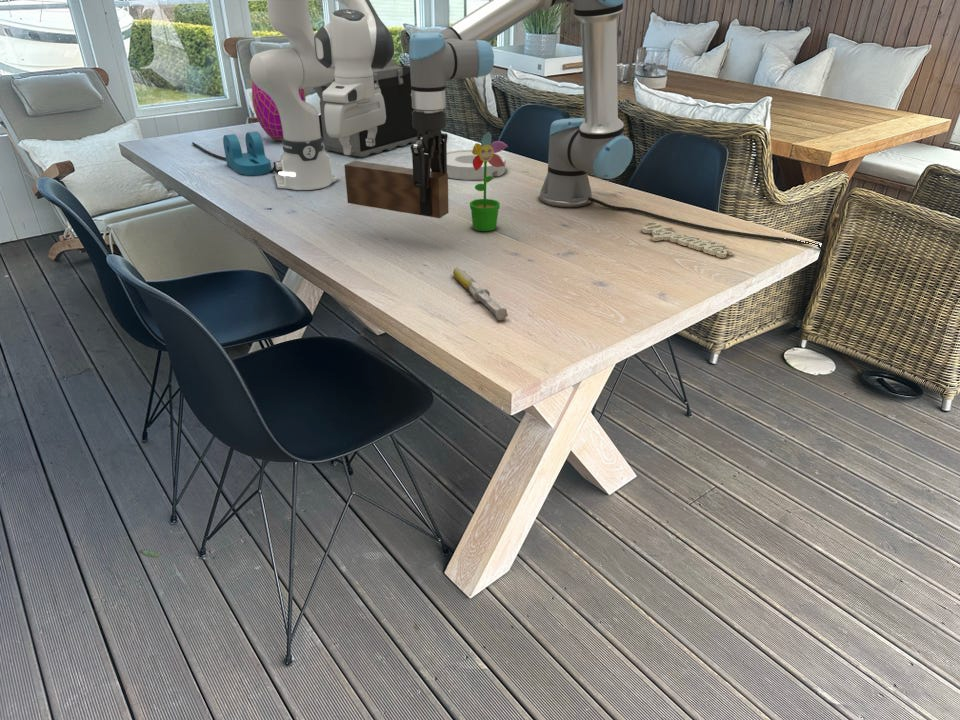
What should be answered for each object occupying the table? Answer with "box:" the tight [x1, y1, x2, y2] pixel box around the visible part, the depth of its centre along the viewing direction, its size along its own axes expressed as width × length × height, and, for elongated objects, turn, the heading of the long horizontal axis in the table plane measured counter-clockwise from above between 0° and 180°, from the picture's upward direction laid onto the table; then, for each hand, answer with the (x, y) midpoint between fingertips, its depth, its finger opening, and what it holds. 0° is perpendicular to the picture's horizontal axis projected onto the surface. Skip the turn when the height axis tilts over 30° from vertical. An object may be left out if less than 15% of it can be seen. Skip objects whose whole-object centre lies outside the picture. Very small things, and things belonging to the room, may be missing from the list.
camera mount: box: [222, 131, 272, 176], centre depth 226 cm, size 18×10×10 cm, turn 35°
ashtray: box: [447, 149, 507, 181], centre depth 229 cm, size 23×23×4 cm
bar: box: [343, 160, 450, 219], centre depth 166 cm, size 26×5×10 cm, turn 65°
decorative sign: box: [641, 221, 733, 259], centre depth 174 cm, size 26×1×10 cm
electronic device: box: [313, 58, 418, 159], centre depth 250 cm, size 37×22×30 cm, turn 144°
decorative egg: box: [251, 79, 307, 142], centre depth 257 cm, size 19×19×30 cm
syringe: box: [452, 266, 509, 321], centre depth 145 cm, size 25×4×3 cm, turn 21°
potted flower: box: [469, 131, 509, 232], centre depth 175 cm, size 9×8×25 cm
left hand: (359, 150), depth 165 cm, fingers open, 8 cm apart
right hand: (431, 211), depth 164 cm, fingers closed on bar, 5 cm apart
